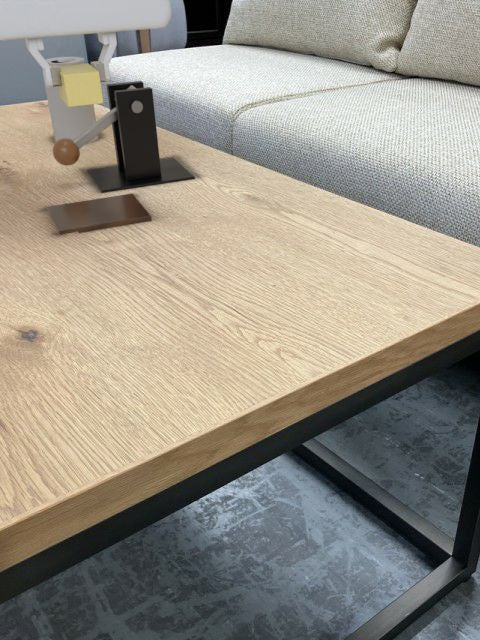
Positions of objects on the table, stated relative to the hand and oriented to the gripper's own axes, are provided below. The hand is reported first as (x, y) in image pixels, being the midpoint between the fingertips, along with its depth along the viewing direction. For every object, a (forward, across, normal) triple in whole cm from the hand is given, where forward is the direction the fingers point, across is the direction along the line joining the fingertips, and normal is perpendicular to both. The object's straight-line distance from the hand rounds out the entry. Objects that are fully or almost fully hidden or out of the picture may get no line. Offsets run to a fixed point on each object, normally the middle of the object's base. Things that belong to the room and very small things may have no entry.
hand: (78, 83), depth 71 cm
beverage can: (+15, -4, -33) cm, 37 cm away
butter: (+2, 0, 0) cm, 2 cm away
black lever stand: (+15, -8, -12) cm, 21 cm away
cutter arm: (+9, -4, -12) cm, 16 cm away
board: (+15, 0, 0) cm, 15 cm away
